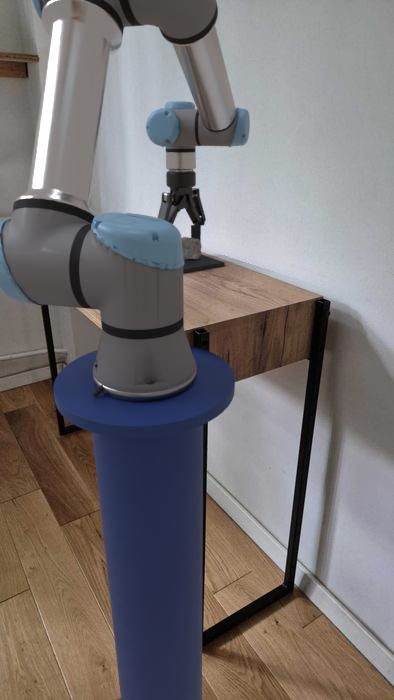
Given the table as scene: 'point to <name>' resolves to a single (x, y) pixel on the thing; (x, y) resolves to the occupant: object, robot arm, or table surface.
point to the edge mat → (201, 264)
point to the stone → (191, 248)
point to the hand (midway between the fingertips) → (182, 254)
